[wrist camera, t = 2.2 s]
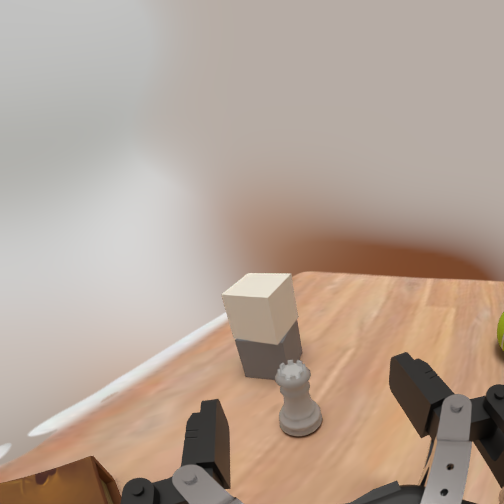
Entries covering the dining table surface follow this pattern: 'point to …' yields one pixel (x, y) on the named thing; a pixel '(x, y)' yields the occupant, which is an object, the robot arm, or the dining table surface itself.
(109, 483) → the diary
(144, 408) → the dining table surface
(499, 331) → the tennis ball
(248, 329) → the tower top
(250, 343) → the tower base
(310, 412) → the rook chess piece
